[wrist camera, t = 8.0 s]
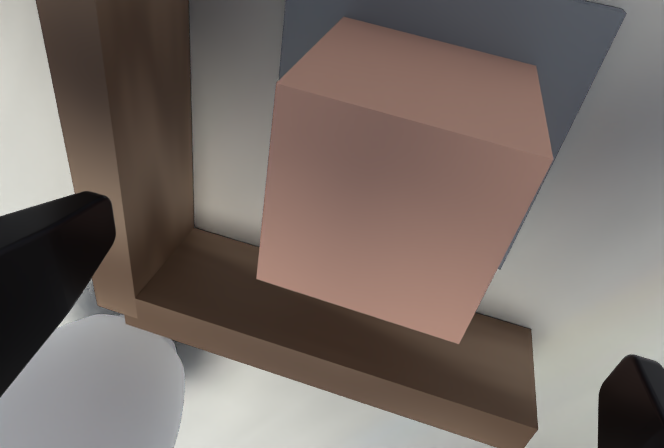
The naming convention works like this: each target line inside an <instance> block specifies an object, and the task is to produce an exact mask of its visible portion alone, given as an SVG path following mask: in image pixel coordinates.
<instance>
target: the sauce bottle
mask: <svg viewBox="0 0 664 448" xmlns="http://www.w3.org/2000/svg"><path fill="white" fill-rule="evenodd" d="M184 393H185V374H184V367H183V365H182V362H181V359H180V358H179V356H178V355H177V352H176V347H175V344H174V342H173V341H172V339H169V338H166V337H163V336H160V335H157V334H154V333H151V332H148V331H145V330H142V329H139V328H136V327H133V326H130V325H127V324H126V323H125V316H124V315H118V316H115V315H108V314H96V315H92V316H89V317H86V318H83V319H80V320H77V321H74V322H71V323H68V324H66V325H63V326H61V327H59V328H56V329H55V331H54V332H53V333H52V334H51V336H50V337H49V338H48V339H47V340H46V342H45V343H44V344H43V345H42V347H41V348H40V349H39V350H38V352H37V353H36V354H35V355H34V357H33V358H32V359H31V360H30V362H29V363H28V364H27V365H26V367H25V368H24V369H23V370H22V371H21V373H20V374H19V375H18V376H17V378H16V379H15V380H14V381H13V383H12V384H11V385H10V386H9V388H8V389H7V390H6V391H5V393H4V394H3V395H2V396H1V397H0V448H174V445H175V442H176V439H177V435H178V432H179V427H180V423H181V417H182V411H183V404H184Z"/></svg>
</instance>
